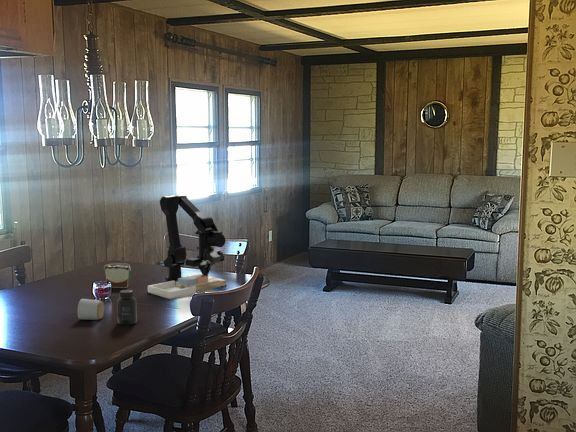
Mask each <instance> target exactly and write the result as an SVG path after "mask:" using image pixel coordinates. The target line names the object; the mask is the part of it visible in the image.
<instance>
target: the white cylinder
mask: <svg viewBox="0 0 576 432" xmlns="http://www.w3.org/2000/svg"><path fill="white" fill-rule="evenodd" d="M76 311H77V317H78V319H79V320H85V321H86V320H87V321H89V320H91V321H92V320H94V321H97V320H101V319H102V318H103V316H104V313H105V303H104V301H101V300H100V299H90V298H80V300H79V301H78V305H77V310H76Z"/></svg>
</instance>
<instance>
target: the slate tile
mask: <svg viewBox="0 0 576 432" xmlns="http://www.w3.org/2000/svg"><path fill="white" fill-rule="evenodd" d="M190 276H191V275H188V276H181V277H182V278H178V280H177V281H178V284H180V285H184V286H190V285H194V284H197V278H194V277H190Z"/></svg>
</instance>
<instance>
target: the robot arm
mask: <svg viewBox="0 0 576 432" xmlns="http://www.w3.org/2000/svg"><path fill="white" fill-rule="evenodd" d="M159 205H160V209H161V212H162V213H163V214H164V215H165V220H166V227H167V228H166V229H167V236H168V242H169V247H168V249H167V251H166V252H167V257H166V258H165V260H163V266H164V268H167V276H166V277H164V278H165V279H166V280H169V281H178V278H182V277H183V276H182V266H187V267H188V266H189V267H193V268H194V267H198V269H199V270H200V272H201V273H200V274H201V275H205V276H209V275H210V271H211V268H212V267H213V266H214V265H215V264H216V263H221V262H223V261H225V256H224V252H223V251H222V250H217V251H215V249H214V247H217V248H222V247H224V246H225V245H226V238H225V236H224V234H223V231H219V230H218V228H217V226H216V224H215V222H214V219H213V217H212V216H210V215H208V214H206V213H204V212H202V211H200V209H198V207H197V206H195V205H194V203H192V202H191V201H190V199H189V198H188V196H187V195H185V194H178V195H166V196H161V198H160V199H159ZM179 207H180V208H181V209H182V210H183V211H184V212H185V213H186V214H187V215H188V216H189V217H190V218H191V219H192V220H193V225H194V226H195V228H196V231H195V232H194V234H195V235H197V236H198V246H196V249H197V250H198V255H197V256H196V258H195V257H189V258H187V256H188V254H187V251H186V250H187V249H186V247H185V246H183V245H182V244H181V239H180V233H179V232H180V231H179V226H178V225H179V224H178V217H177V212H178V210H179Z"/></svg>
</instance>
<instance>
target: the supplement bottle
mask: <svg viewBox="0 0 576 432" xmlns="http://www.w3.org/2000/svg"><path fill="white" fill-rule="evenodd" d="M116 304H117V307H116V308H117V323H118V325H121V326H131V325H132V326H133V325H135V324H137V322H138V314H137V313H138V311H137V299H136V298H135V297H134V290H133V289H122V290H120V291H119V298H118V299H117V302H116Z"/></svg>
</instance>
